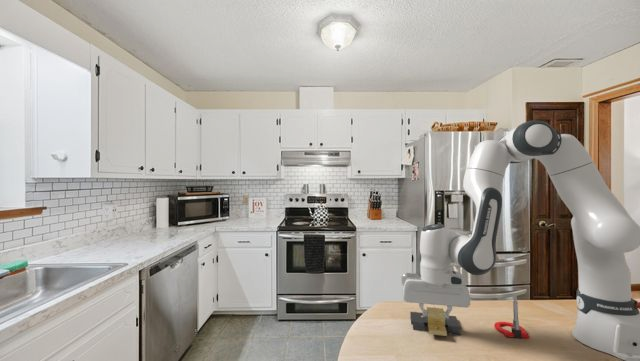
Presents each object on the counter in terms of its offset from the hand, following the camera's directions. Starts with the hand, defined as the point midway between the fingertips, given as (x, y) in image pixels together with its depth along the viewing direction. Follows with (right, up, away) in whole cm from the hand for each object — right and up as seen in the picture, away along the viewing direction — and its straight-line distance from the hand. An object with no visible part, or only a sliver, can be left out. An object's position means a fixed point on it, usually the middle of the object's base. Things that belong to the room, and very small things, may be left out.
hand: (435, 317), depth 94 cm
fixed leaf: (+1, -4, +3) cm, 5 cm away
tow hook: (+23, -4, -1) cm, 24 cm away
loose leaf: (-1, -3, -2) cm, 3 cm away
